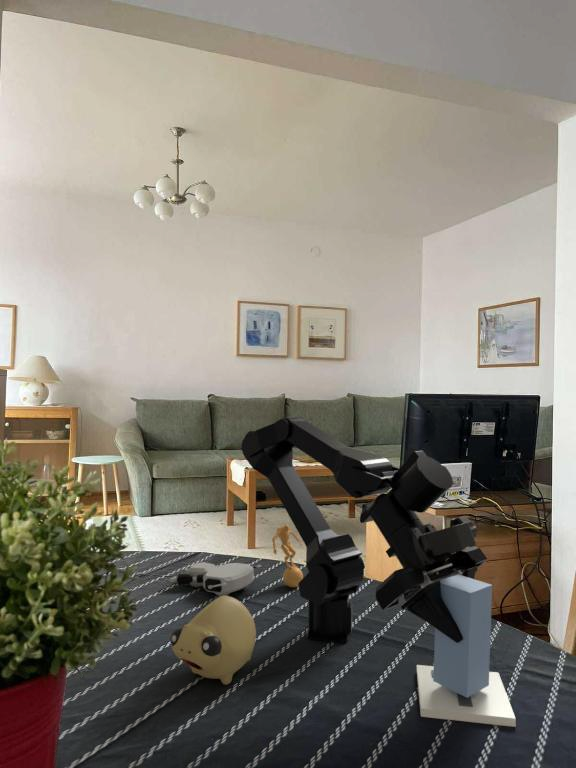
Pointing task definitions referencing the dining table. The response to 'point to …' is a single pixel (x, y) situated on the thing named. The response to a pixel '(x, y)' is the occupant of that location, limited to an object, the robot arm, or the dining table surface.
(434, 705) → the letter card
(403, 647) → the dining table surface
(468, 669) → the slate post
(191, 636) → the beige rounded figure
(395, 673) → the dining table surface
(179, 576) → the robot toy
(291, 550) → the figurine
